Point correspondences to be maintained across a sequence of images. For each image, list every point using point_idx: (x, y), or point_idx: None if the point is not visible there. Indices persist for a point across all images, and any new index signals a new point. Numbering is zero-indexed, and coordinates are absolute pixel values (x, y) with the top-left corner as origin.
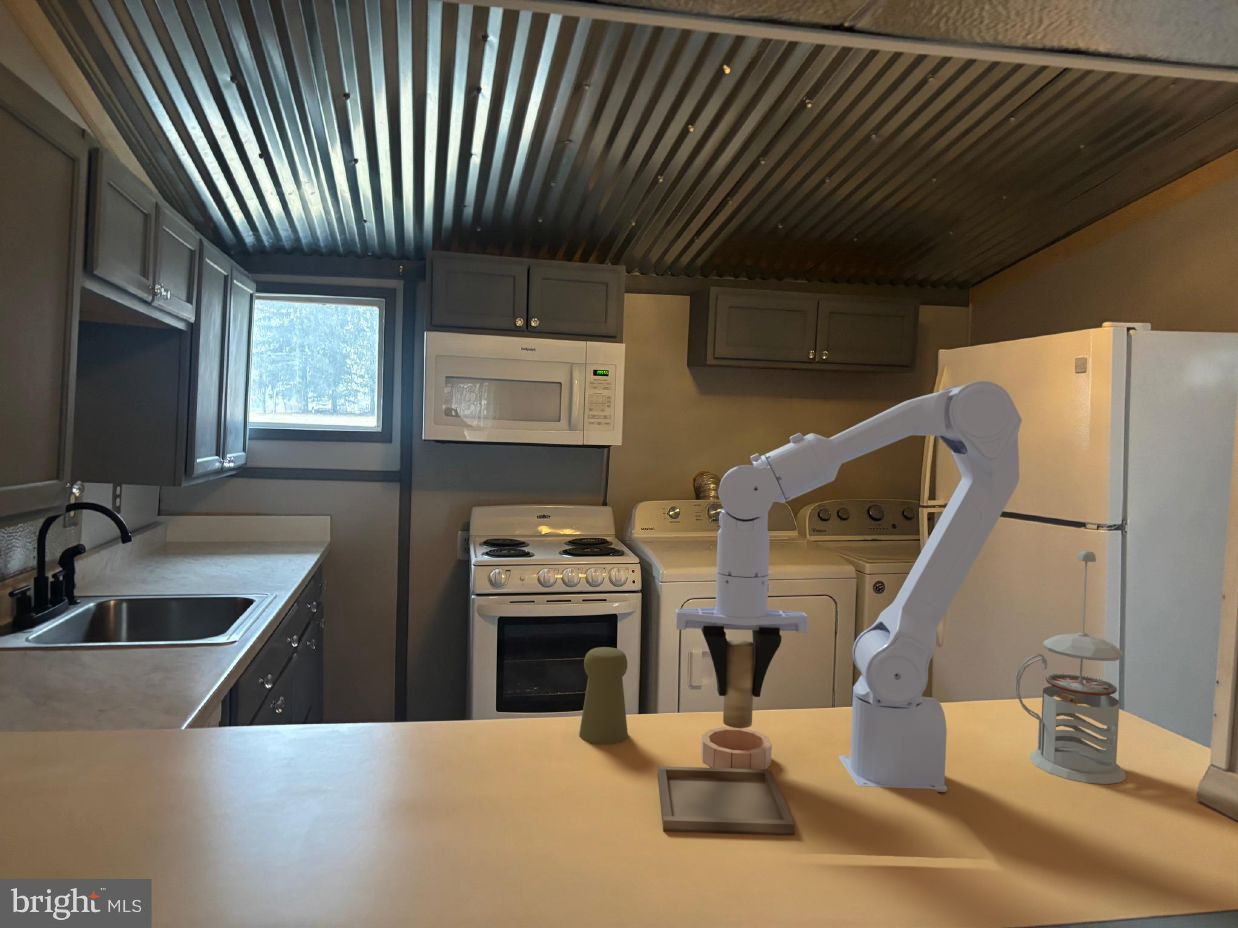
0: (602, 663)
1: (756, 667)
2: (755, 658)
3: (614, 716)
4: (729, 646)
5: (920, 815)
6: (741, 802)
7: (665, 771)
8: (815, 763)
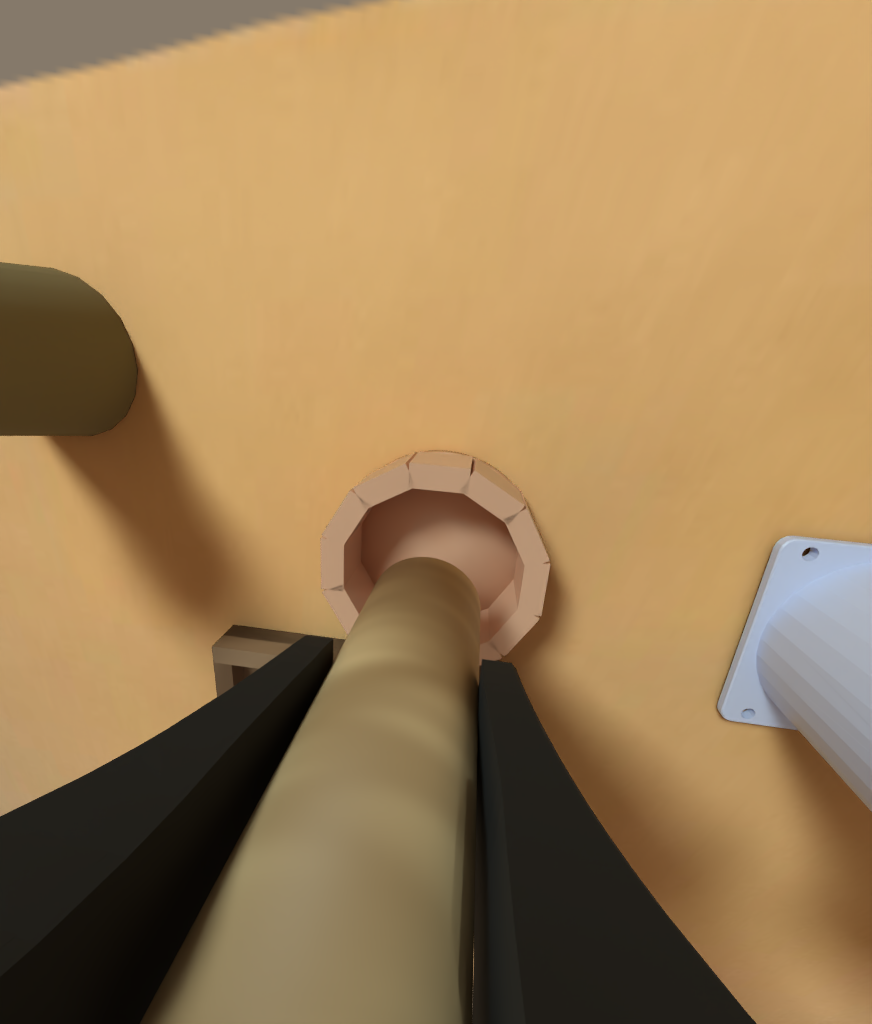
0: None
1: (478, 916)
2: (487, 943)
3: (1, 428)
4: None
5: (789, 811)
6: None
7: (231, 675)
8: (686, 547)
